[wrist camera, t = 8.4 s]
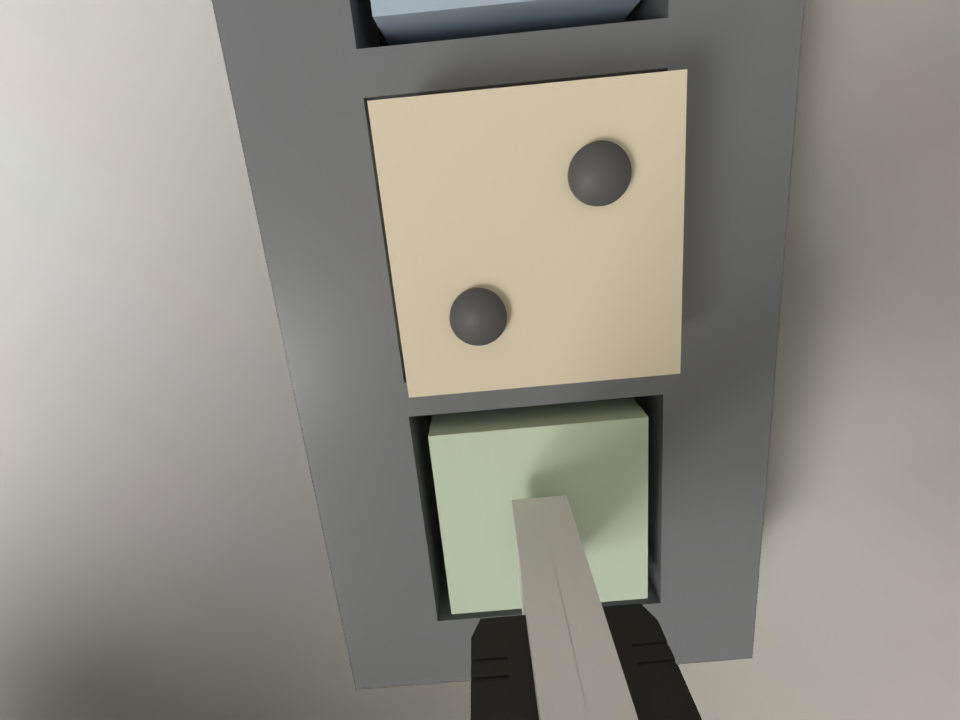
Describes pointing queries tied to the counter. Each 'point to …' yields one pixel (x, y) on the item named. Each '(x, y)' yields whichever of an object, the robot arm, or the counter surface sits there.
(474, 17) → the light blue block
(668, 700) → the robot arm
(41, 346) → the counter surface
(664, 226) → the beige counting block
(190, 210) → the counter surface
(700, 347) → the grey counting block tray
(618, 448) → the pale green counting block
